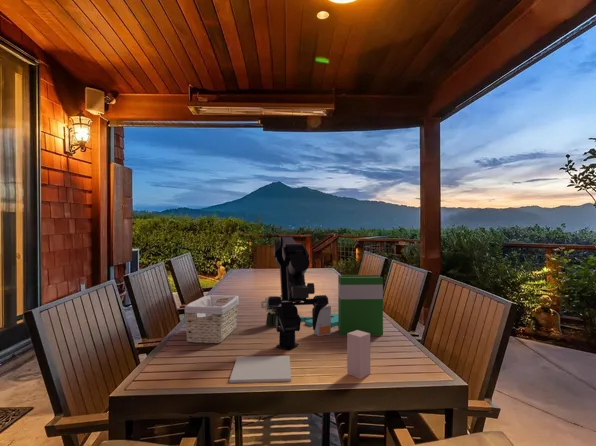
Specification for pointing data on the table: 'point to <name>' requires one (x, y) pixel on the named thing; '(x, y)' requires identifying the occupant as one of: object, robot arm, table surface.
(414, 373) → the table surface
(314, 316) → the robot arm
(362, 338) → the rose card box
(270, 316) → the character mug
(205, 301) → the storage basket
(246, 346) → the table surface
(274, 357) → the white square plate
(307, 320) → the alien figure
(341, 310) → the green cereal box
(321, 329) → the skincare box
